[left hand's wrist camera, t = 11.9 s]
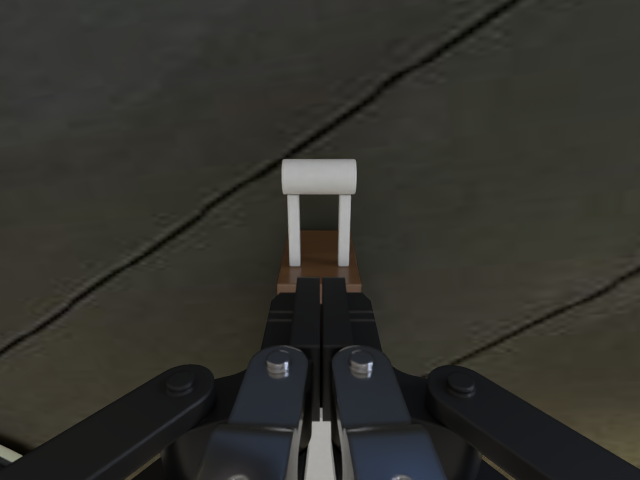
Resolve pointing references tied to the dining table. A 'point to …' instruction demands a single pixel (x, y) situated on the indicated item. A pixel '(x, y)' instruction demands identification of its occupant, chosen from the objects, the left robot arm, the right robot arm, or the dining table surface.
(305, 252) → the drawer
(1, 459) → the boat shoe
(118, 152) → the dining table surface
